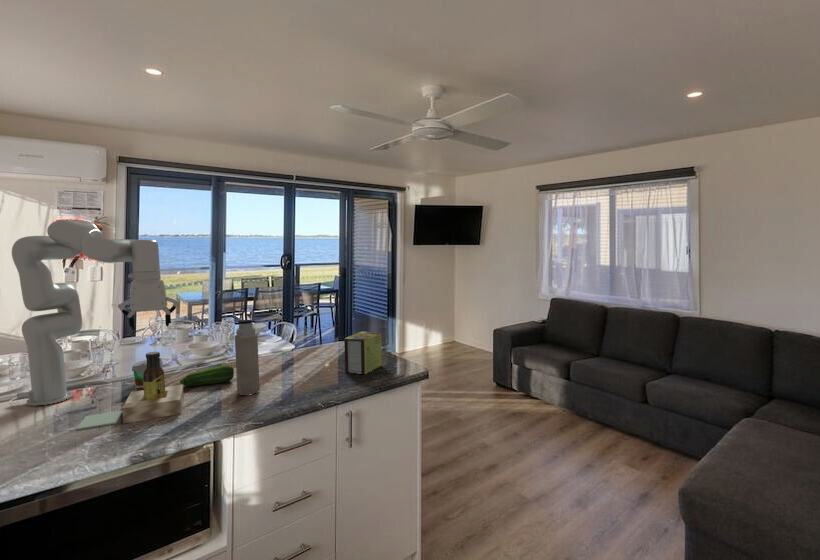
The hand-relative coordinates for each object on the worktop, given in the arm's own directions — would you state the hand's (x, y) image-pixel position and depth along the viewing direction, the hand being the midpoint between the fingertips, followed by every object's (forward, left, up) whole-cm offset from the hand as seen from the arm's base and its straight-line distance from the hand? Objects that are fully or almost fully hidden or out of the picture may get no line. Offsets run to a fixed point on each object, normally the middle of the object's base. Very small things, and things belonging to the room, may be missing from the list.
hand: (151, 327), depth 136 cm
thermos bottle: (+30, +3, -29) cm, 42 cm away
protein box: (+79, +10, -29) cm, 85 cm away
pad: (-15, -2, -29) cm, 33 cm away
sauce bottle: (0, 0, -29) cm, 29 cm away
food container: (-4, +28, -29) cm, 41 cm away
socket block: (0, 0, -29) cm, 29 cm away
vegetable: (+16, +20, -29) cm, 39 cm away
